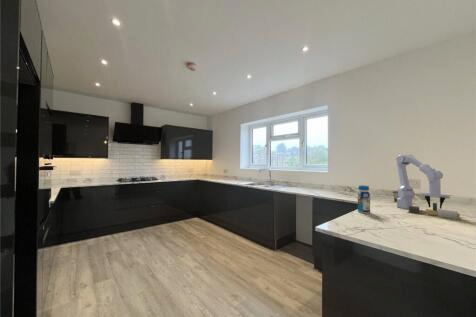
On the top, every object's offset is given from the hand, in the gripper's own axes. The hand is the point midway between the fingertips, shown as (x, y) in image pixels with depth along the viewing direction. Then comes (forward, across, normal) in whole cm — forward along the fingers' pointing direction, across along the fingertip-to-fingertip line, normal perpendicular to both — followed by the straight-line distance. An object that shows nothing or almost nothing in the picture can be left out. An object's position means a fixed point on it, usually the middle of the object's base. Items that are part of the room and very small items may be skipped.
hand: (435, 207), depth 141 cm
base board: (+6, -1, 0) cm, 7 cm away
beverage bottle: (+7, -38, -22) cm, 44 cm away
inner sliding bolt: (+5, +3, 0) cm, 6 cm away
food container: (+7, -28, +48) cm, 56 cm away
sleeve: (+5, +6, 0) cm, 8 cm away
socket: (+5, -10, 0) cm, 12 cm away
